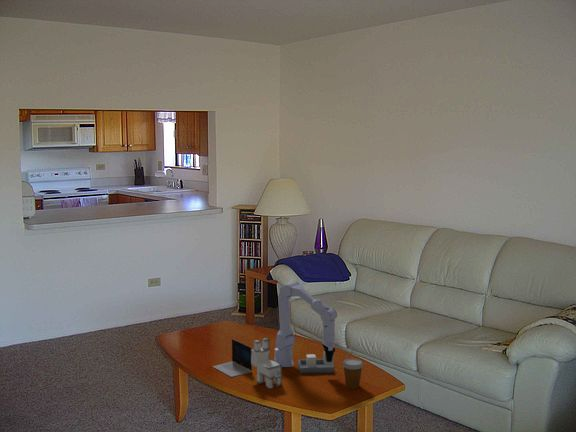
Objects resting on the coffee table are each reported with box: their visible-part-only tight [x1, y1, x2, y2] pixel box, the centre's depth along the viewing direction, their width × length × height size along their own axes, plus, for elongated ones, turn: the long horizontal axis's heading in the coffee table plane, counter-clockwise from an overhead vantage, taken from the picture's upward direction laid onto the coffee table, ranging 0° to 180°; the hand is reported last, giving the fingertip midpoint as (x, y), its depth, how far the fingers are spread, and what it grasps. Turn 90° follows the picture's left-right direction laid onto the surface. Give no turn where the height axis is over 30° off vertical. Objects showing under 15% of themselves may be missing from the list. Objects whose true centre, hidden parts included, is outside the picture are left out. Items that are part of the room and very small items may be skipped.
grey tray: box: [297, 358, 335, 375], centre depth 334 cm, size 17×12×3 cm
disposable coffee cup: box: [342, 358, 364, 390], centre depth 311 cm, size 10×10×12 cm
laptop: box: [212, 338, 253, 378], centre depth 333 cm, size 18×12×13 cm
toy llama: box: [251, 337, 283, 390], centre depth 315 cm, size 8×18×20 cm, turn 37°
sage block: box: [323, 350, 335, 365], centre depth 323 cm, size 4×4×6 cm
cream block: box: [305, 353, 317, 367], centre depth 334 cm, size 4×4×6 cm
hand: (328, 359), depth 324 cm, fingers closed on sage block, 4 cm apart
